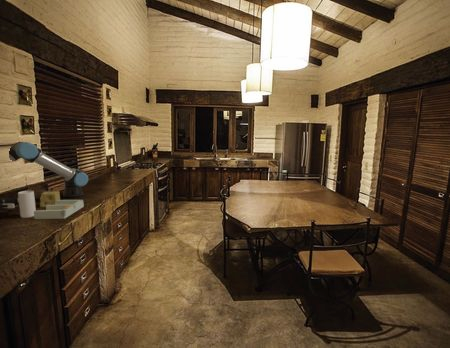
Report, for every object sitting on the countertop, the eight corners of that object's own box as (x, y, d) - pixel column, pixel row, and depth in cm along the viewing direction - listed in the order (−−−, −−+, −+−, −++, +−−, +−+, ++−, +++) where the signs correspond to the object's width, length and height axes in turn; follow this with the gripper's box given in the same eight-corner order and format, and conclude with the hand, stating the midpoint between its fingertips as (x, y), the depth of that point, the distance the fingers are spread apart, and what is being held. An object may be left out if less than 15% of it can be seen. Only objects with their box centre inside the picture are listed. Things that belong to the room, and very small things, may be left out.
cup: (34, 212, 176) (31, 190, 173) (37, 215, 170) (35, 191, 168) (19, 215, 169) (16, 192, 167) (22, 218, 164) (19, 194, 162)
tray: (34, 219, 163) (33, 210, 162) (58, 206, 190) (57, 199, 190) (64, 218, 165) (63, 209, 164) (83, 206, 192) (83, 198, 191)
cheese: (40, 207, 188) (38, 194, 186) (45, 203, 198) (44, 191, 197) (56, 206, 191) (55, 193, 189) (61, 203, 201) (60, 190, 199)
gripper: (1, 203, 179) (34, 203, 180) (-31, 215, 154) (7, 214, 156) (0, 193, 177) (33, 193, 179) (-32, 202, 153) (6, 202, 155)
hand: (21, 202), depth 168 cm, fingers open, 13 cm apart
